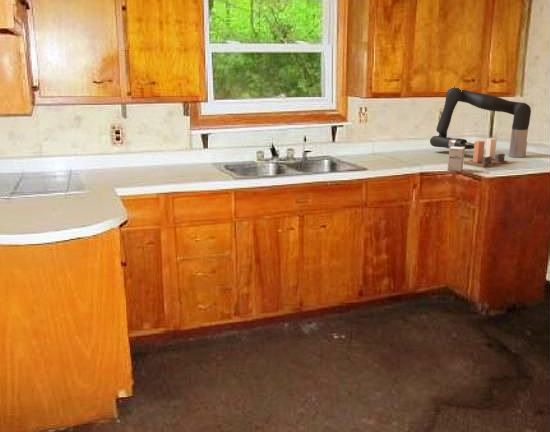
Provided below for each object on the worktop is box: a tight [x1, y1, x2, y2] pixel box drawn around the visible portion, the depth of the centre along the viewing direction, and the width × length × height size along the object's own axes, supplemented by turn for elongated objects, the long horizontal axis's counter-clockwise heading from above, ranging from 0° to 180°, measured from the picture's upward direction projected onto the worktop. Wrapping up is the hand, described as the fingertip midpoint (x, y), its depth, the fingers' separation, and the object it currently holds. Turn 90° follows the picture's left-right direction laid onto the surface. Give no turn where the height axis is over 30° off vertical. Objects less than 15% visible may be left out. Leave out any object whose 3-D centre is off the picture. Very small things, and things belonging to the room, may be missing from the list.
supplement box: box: [447, 146, 466, 172], centre depth 297 cm, size 7×7×13 cm
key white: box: [484, 137, 498, 159], centre depth 318 cm, size 5×3×12 cm, turn 121°
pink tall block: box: [472, 140, 486, 163], centre depth 309 cm, size 5×3×12 cm, turn 121°
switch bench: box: [463, 153, 509, 168], centre depth 314 cm, size 22×14×6 cm, turn 121°
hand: (480, 147), depth 324 cm, fingers closed
